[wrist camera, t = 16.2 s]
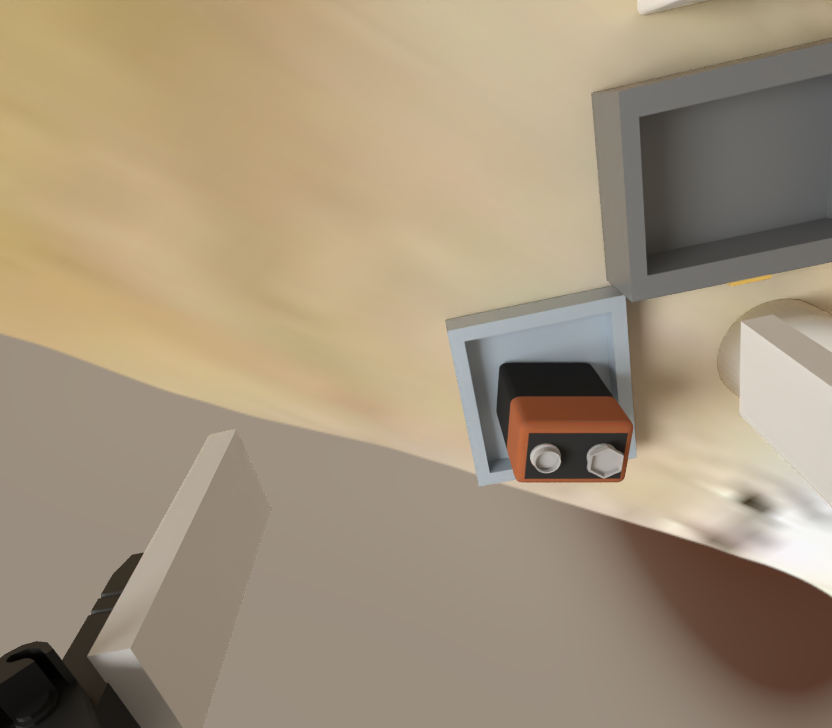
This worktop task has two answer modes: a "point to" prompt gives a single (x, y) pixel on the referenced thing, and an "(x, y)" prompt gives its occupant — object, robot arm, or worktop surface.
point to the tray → (536, 360)
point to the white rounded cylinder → (793, 312)
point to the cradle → (717, 173)
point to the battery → (561, 423)
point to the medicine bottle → (662, 5)
